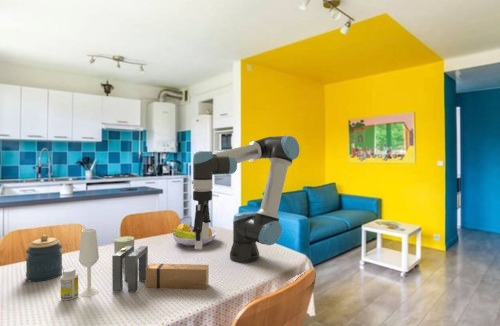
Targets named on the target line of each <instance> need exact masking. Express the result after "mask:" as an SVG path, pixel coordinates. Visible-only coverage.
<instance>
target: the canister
mask: <svg viewBox="0 0 500 326" xmlns="http://www.w3.org/2000/svg"><path fill="white" fill-rule="evenodd" d="M60 242H61V241H60V239H57V238H55V237H49V236H48V235H46V234H43V235H41V236H40V238H38V239H35V240H33V241H31V242H30V243H28V245H27V246H28V248H27V249H26V250H25V253H26V255H27V256H26V257H25V266H26V267H25V268H26V269H25V270H26V272H25V277H26V280H27V281H29V282H41V281H42V282H43V281H47V280H52V279H53V278H54V279H55V278H56V277H58V276H60V275H61V274H63V252H62V248H63V245H62V244H60Z"/></svg>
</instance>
